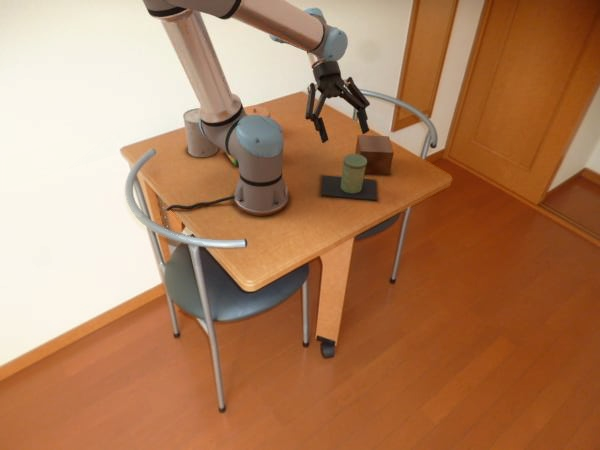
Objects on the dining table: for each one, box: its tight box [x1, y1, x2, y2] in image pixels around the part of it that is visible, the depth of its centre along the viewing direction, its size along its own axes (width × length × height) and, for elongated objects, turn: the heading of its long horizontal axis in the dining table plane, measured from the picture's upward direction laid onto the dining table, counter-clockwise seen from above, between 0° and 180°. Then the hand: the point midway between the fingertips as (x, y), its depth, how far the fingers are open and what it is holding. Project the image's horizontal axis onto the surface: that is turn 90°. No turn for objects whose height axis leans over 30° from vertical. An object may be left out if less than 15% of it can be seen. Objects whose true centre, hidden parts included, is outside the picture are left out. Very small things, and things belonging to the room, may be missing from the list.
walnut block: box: [354, 134, 395, 176], centre depth 132 cm, size 10×10×8 cm
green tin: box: [341, 153, 367, 193], centre depth 121 cm, size 7×7×10 cm
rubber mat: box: [321, 175, 378, 202], centre depth 125 cm, size 16×10×1 cm, turn 86°
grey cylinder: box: [182, 107, 219, 158], centre depth 134 cm, size 10×10×12 cm
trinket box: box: [243, 105, 271, 118], centre depth 145 cm, size 11×11×9 cm
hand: (346, 136), depth 118 cm, fingers open, 13 cm apart
